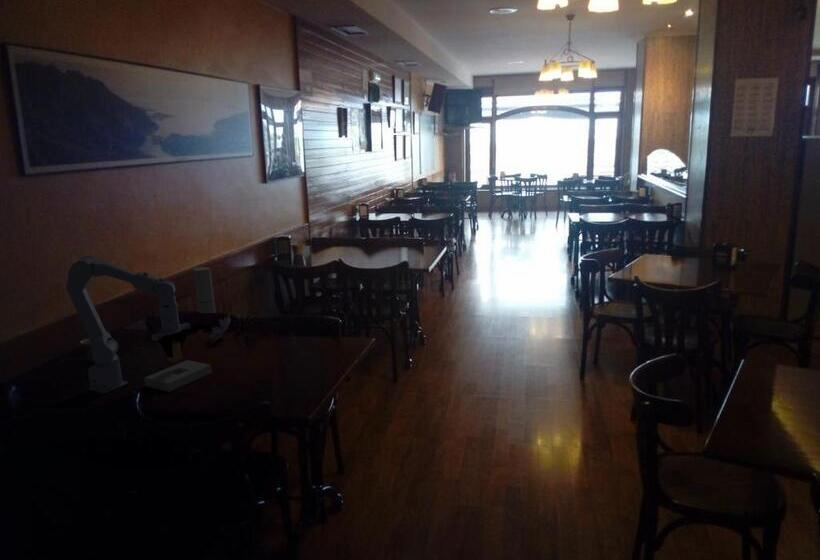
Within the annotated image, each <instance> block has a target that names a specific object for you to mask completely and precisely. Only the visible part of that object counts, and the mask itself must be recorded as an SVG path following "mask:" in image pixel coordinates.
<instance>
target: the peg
mask: <svg viewBox="0 0 820 560" xmlns="http://www.w3.org/2000/svg"><path fill="white" fill-rule="evenodd" d="M172 351H173V357H167V356H166V359H167V361H169V362H173V363H175V362H179V361H180V360H182V359H183V358H184V357H183V351H182V350H181V343H180V342H178V341H174V340H173V342H172Z"/></svg>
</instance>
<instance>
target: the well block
mask: <svg viewBox="0 0 820 560" xmlns="http://www.w3.org/2000/svg"><path fill="white" fill-rule="evenodd" d="M211 374H213V371H212V364H208V363H204V362H198V361H193V360H189V359H187V360H184V361H182V362H179V363H177V364H174V365H172V366H169V367H166V368H164V369H163V370H159V371H157V372H155V373H152V374H150V375H148V376H145V377H144V378H143V379H144V383H145V387H147V388H151V389H156V390H160V391H163V392H169V393H171V392H173V391H176V390H177V389H179V388H182V387H185V386H186V385H188V384H191V383H192V382H195V381H197V380H199V379H202V378H204V377H206V376H208V375H211Z"/></svg>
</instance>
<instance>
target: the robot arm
mask: <svg viewBox="0 0 820 560" xmlns="http://www.w3.org/2000/svg"><path fill="white" fill-rule="evenodd" d="M67 274H68V275H67V282H66V287H65V288H66V289H65V290H66V292H67V294H68V296H69V297H70V300H71V302H72V304H73V306H74V308H75V311H76V312H77V315H78V317H79V319H80V320H81V323H82V325H83V327H84V329H85V331H86V333H87V335H88V338H89V344H90V348H91V352H92V353H91V354H92V355H91V358H92V360H93V361H94V364H93V365H92V366H90V367H89V368H88V370H87V374H88V375H87V376H88V381H89V390H90V391H93V392H96V393H101V394H107V393H109V392H111V391H113V390H117V389H119V388H121V387H124V386H126V385H129V381H125V380H123V375H122V369H121V362H120V358H119V356H118V355H117V352H118V351H119V343H118V342H117V340H115V339H114V338H112V336H111V334H110V333H109V332H108V331H107V330H106V329H105V326H104V325H103V324H104V323H103V322H102V320H101V318H100V315H99V314H98V312H97V310H96V308H95V306H94V303H93V301H92V298H91V296H90V294H89V293H88V291H87V286H88V283H89V281H90V280H91V278H92V277H94V278H97V277H98V278H99V277H104V276H108V277H110V278H114V279H117V280H120V281H123V282H126V283H129V284H131V285H132V287H133V289H134V290H135V289H136V290H138V291H141V292H143V293H147V294H149V295H152V296H155V298H156V299H157V300H158V310H159V311H158V312H159V317H160V319H159V320H160V326H161V329H160V330H159V331H156V332H155V333H153V334H151V335H150V336H151V341H153V342H157V341H158V343H159V344H160V345H161V347H162V349H163V350H164V352H165V355H166V358H167V357H173V351H172V342H173V341H178V342H180V343H181V350H182V352H183V348H184V343H185V340H186V339H187V336H188V333H187V330H190V329H191V328H192V327H191V323H190V322H183V323H180V320H179V319H180V318H179V310H178V304H177V298H176V294H175V293H176V290H177V289H176V285H175V283H174V282H173V281H171V280H169V279H164V278H162V277H160V278H159V277H156V276H153V275H150V274H149V272H148V271H144V272H142V271H139V272H137V273H134V272H132V271H129V270H127V269H125V268H121V267H120V266H117V265H114V264H112V263H110V262H108V261H105V260H104V259H100V258H95V257H94V256H91V255H85V256H83V257H81V258H80V259H79V260H77V261H75V262H73V264H72V265H71V266H70V268H69V269H68V271H67ZM170 336H172V338H171V337H170Z"/></svg>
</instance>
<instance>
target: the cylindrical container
mask: <svg viewBox="0 0 820 560" xmlns="http://www.w3.org/2000/svg"><path fill="white" fill-rule="evenodd" d="M211 271H212V270H211V267H209V266H202V267H200V266H199V267H195V268H193V269H192V274H193V281H194V287H195V295H196V303H197V310H198V311H197V312H198V313H199V312H200V313H216V314H217V312H216V305H215V304H216V303H215V296H214V295H215V294H214V289H213V288H214V287H213V280H212V272H211Z"/></svg>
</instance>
